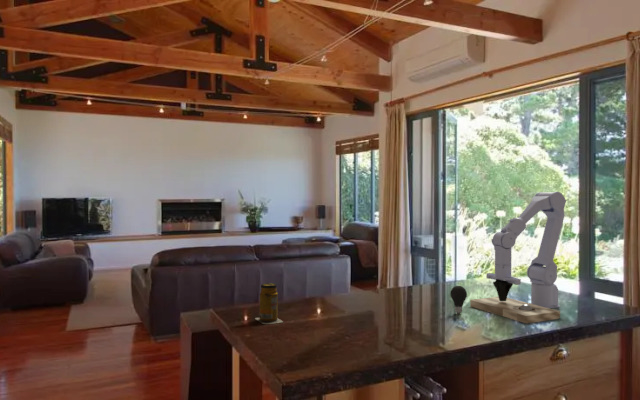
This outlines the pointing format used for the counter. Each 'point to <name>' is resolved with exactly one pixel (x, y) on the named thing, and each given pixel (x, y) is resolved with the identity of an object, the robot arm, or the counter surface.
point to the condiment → (268, 304)
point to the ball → (526, 307)
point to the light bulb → (458, 297)
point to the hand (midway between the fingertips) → (502, 300)
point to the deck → (515, 310)
